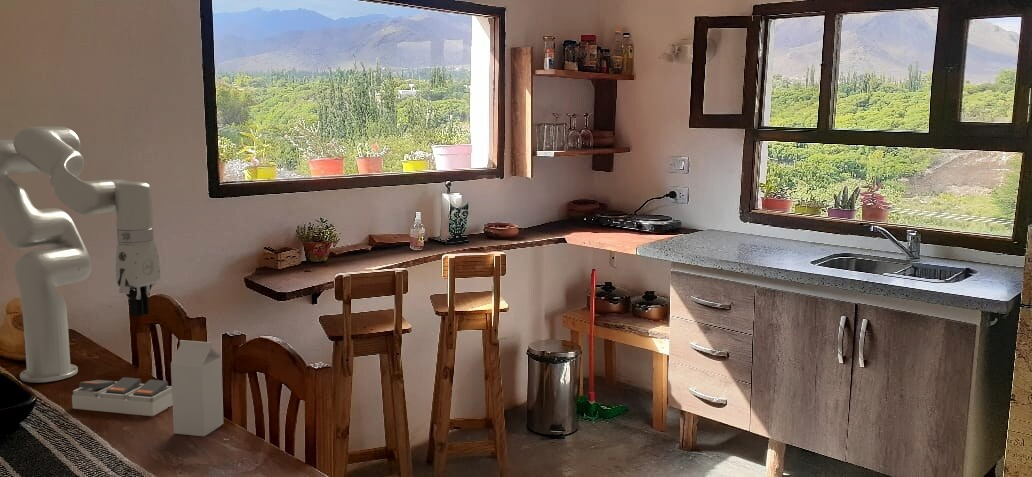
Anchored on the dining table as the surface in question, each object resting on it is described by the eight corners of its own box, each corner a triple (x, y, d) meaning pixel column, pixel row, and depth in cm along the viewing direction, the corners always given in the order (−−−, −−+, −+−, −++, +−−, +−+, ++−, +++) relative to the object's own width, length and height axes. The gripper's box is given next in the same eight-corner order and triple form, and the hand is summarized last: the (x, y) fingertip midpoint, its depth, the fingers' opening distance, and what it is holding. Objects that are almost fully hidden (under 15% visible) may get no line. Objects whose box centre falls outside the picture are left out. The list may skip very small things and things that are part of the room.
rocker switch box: (72, 408, 183) (71, 391, 182) (98, 396, 191) (97, 379, 190) (153, 416, 179) (152, 398, 178) (176, 403, 187) (175, 386, 186)
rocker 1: (79, 387, 183) (79, 381, 183) (97, 384, 189) (98, 379, 189) (96, 388, 182) (96, 383, 182) (114, 385, 188) (115, 380, 188)
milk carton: (204, 437, 168) (201, 347, 165) (173, 434, 169) (169, 344, 166) (223, 424, 175) (220, 338, 172) (193, 421, 176) (189, 335, 173)
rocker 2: (106, 394, 182) (106, 390, 182) (124, 381, 188) (123, 376, 187) (124, 396, 181) (123, 391, 181) (141, 382, 187) (140, 378, 186)
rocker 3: (134, 397, 181) (133, 392, 180) (150, 383, 186) (149, 379, 186) (152, 398, 180) (151, 394, 179) (168, 384, 185) (167, 380, 185)
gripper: (127, 241, 179) (132, 324, 182) (170, 232, 194) (174, 308, 197) (97, 240, 181) (102, 321, 183) (142, 231, 196) (146, 306, 198)
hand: (139, 314), depth 190 cm, fingers closed
